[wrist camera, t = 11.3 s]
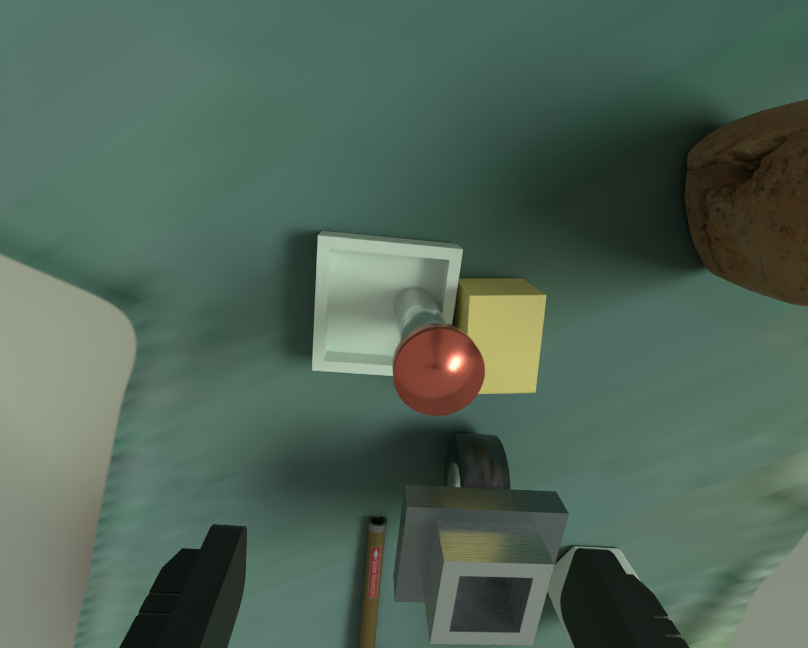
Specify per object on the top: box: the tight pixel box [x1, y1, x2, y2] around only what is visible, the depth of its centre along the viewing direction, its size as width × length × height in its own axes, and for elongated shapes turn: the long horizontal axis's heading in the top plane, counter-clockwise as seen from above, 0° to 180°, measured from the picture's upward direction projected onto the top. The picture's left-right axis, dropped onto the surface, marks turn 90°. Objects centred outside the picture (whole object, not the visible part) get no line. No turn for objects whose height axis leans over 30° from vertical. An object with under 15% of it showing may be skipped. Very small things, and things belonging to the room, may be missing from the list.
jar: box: [548, 546, 639, 648], centre depth 38 cm, size 9×8×12 cm
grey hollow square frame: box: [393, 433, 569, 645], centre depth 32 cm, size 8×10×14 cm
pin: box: [392, 287, 485, 416], centre depth 27 cm, size 4×4×12 cm
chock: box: [454, 278, 546, 394], centre depth 32 cm, size 7×5×5 cm
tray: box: [312, 231, 463, 376], centre depth 32 cm, size 10×10×2 cm
